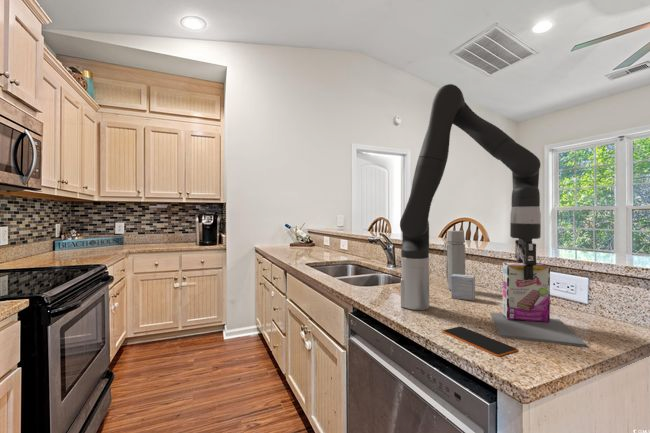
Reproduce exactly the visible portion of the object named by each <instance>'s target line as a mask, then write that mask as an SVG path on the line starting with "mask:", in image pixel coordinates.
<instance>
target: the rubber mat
mask: <svg viewBox="0 0 650 433" xmlns="http://www.w3.org/2000/svg"><path fill="white" fill-rule="evenodd" d="M490 317H491V319H492V321H493V323H494V324H493V325H494V326H495V329H496V331H497V332H498V335H499V337H501V338H508V339H515V340H517V339H518V340H525V341H532V342H541V343H550V344H559V345H564V346H565V345H566V346H573V347H584V348H588V344H587V343H586V342H585V341H583V339H581V338H580V337H579V336H578V335H577V334H576V333H575V332H574V331H572V329H571V328H569V327H568V326H567V325H566V324H565V323H564V322H563V321H562V320H561V319H559V318H551V317H550V322H535V321H520V320H507V319H506V318H505V316H503V313H499V312H490Z"/></svg>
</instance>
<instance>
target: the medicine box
mask: <svg viewBox="0 0 650 433" xmlns="http://www.w3.org/2000/svg"><path fill="white" fill-rule="evenodd" d="M450 293H451V295H450V297H451V299H459V300H465V301H475V300H476V278H475V275H469V274H465V275H459V274H453V275H452V276H451V290H450Z"/></svg>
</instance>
